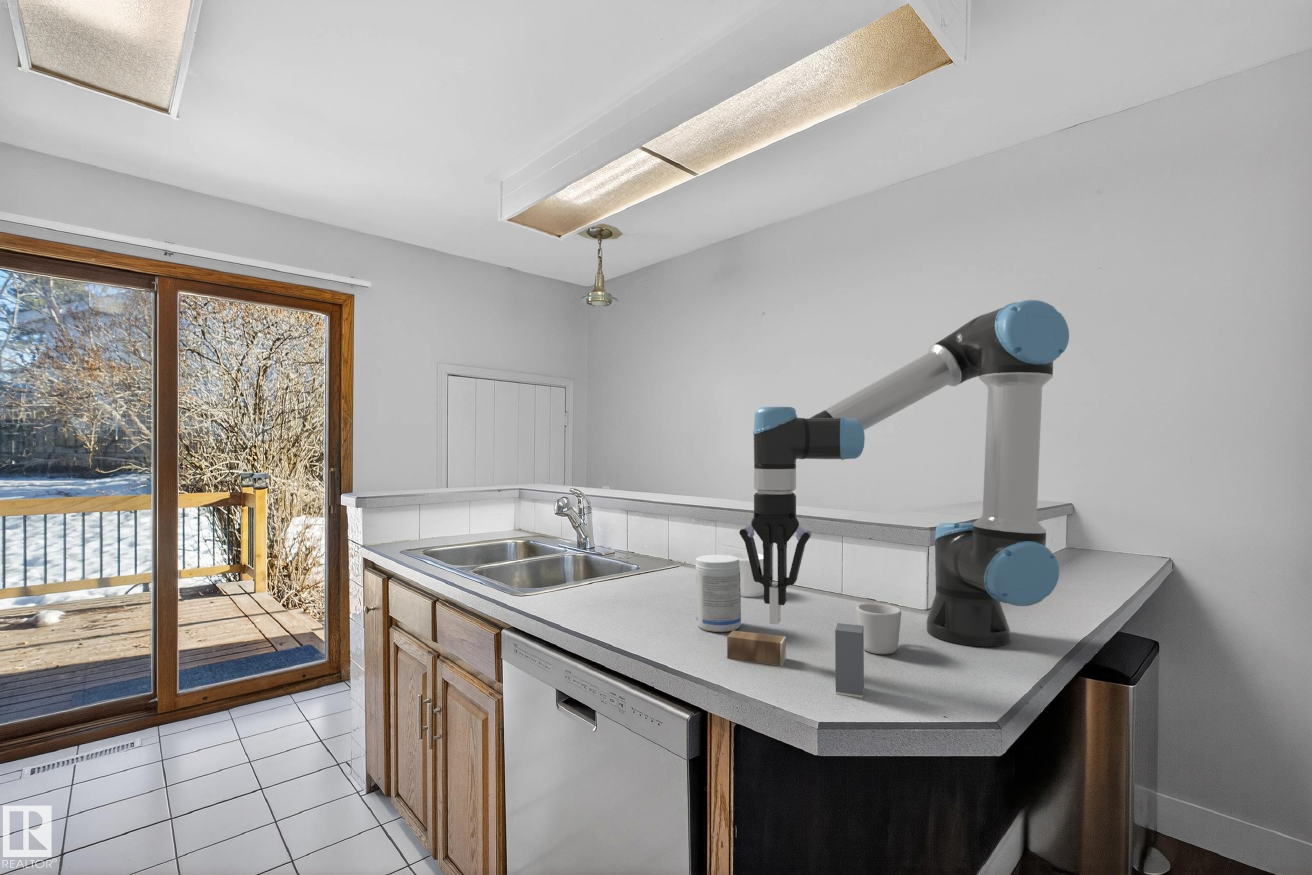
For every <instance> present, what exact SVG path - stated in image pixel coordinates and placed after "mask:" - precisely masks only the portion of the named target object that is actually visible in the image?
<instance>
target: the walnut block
mask: <svg viewBox="0 0 1312 875" xmlns="http://www.w3.org/2000/svg"><path fill="white" fill-rule="evenodd" d="M726 649H727V650H726V652H727V653H726V655H727V656H726V658H727V659H729V660H736V661H743V662H745V661H746V662H751V663H759V664H766V665H771V666H772V665H774V666H780V667H782V666H783V664H784V663H785V662H786V659H787V636H784V635H776V634H775V635H774V634H765V633H759V632H757V633H756V632H748V631H741V630H733V631H730V633H729V634H728V635H727V637H726Z"/></svg>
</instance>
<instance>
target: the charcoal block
mask: <svg viewBox="0 0 1312 875" xmlns="http://www.w3.org/2000/svg"><path fill="white" fill-rule="evenodd" d="M834 634H835V638H834V639H835V640H834V641H835V642H834V643H835V644H834V646H835V648H834V650H835V657H834V658H835V661H834V662H835V663H834V664H835V667H834V668H835V694H836V695H842V696H850V697H855V698H864V690H865V666H864V665H865V663H864V662H865V660H864V659H865V658H864V657H865V656H864V654H865V653H864V652H865V649H864V626H861V625H858V624H852V623H851V624H850V623H849V624H848V623H842V622H841V623H840V622H839V623H837V624H836V627H835V629H834Z"/></svg>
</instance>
